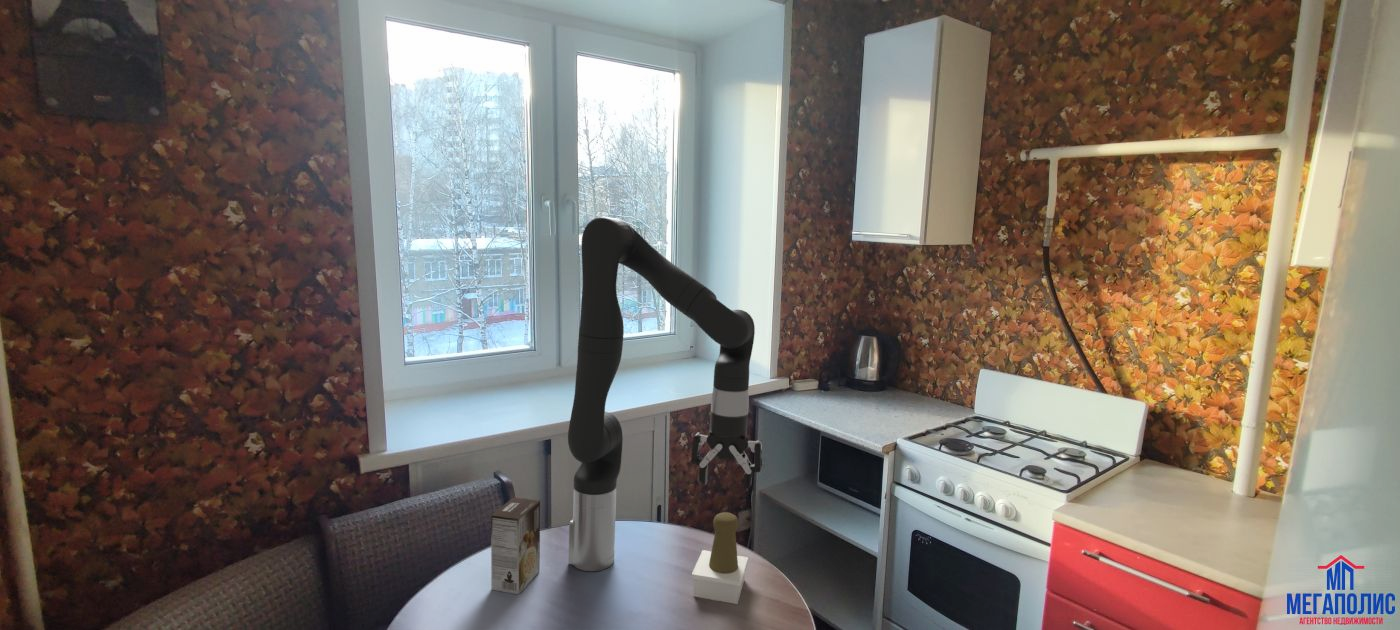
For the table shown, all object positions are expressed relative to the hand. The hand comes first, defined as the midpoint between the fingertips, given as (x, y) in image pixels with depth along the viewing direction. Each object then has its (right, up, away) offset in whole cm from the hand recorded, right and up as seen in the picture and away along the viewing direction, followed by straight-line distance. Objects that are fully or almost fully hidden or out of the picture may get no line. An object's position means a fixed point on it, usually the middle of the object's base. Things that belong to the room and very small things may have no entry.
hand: (724, 486), depth 124 cm
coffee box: (-43, -20, +2) cm, 48 cm away
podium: (-1, -22, +3) cm, 22 cm away
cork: (0, -17, +2) cm, 17 cm away
